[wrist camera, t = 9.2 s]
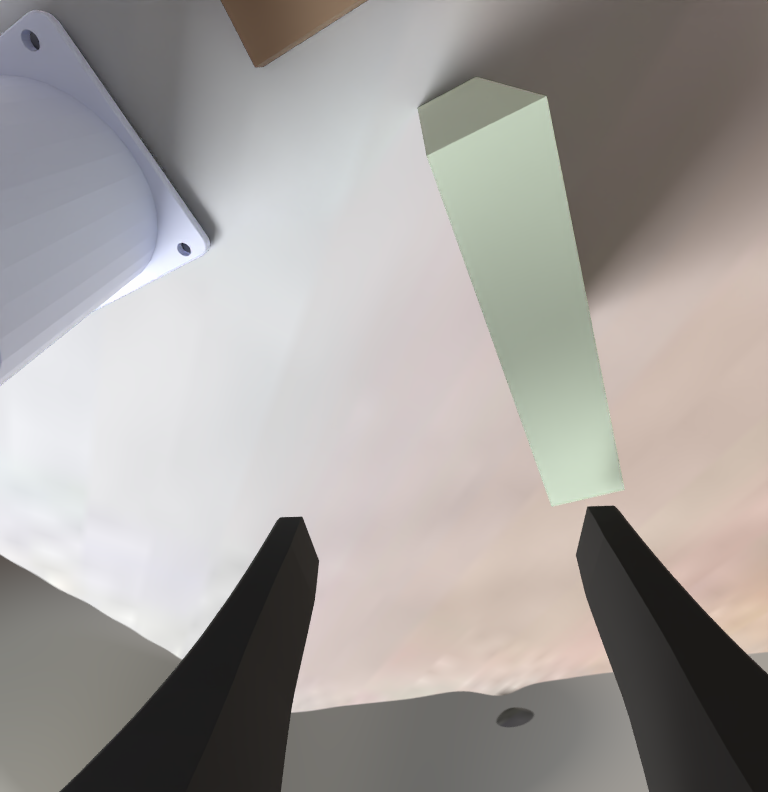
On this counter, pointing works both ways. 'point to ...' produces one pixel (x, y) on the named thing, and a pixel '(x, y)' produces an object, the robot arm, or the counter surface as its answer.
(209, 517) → the counter surface
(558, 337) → the sage green block
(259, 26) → the rack
